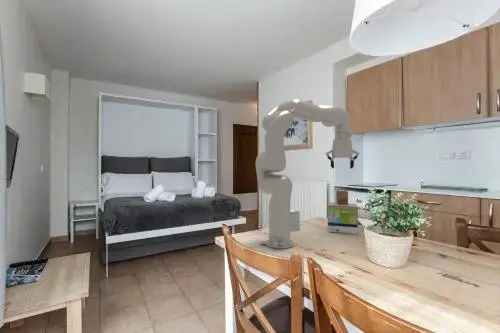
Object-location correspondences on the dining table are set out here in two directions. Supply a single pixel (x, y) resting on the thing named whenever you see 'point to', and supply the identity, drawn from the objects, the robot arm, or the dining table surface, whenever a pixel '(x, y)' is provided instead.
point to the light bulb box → (294, 219)
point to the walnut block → (342, 197)
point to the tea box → (343, 218)
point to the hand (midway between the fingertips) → (342, 168)
